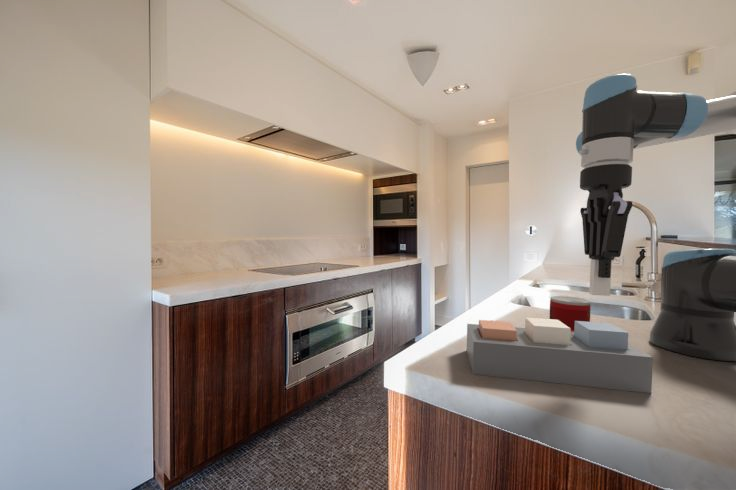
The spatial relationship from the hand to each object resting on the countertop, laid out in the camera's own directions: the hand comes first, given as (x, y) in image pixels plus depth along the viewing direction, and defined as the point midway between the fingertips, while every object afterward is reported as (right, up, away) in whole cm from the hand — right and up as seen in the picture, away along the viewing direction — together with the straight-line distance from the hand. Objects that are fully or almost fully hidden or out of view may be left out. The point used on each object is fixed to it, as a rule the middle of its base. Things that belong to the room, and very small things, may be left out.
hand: (599, 294), depth 57 cm
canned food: (+5, -15, +16) cm, 22 cm away
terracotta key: (-17, -12, +4) cm, 22 cm away
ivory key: (-9, -11, +2) cm, 14 cm away
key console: (-9, -15, +2) cm, 17 cm away
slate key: (0, -11, 0) cm, 11 cm away
